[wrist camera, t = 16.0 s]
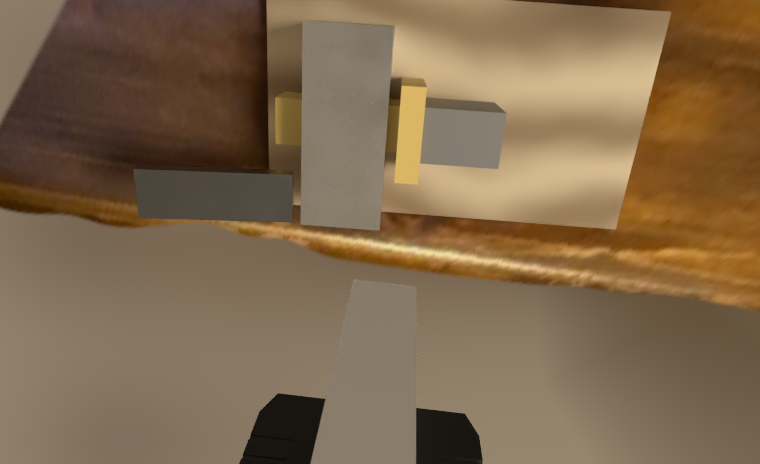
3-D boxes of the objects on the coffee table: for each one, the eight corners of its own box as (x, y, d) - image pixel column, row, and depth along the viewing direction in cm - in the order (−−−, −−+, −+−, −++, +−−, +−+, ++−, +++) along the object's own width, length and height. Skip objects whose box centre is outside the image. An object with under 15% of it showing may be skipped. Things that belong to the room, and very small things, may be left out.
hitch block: (319, 20, 34) (302, 20, 28) (395, 25, 34) (393, 27, 28) (316, 193, 39) (300, 224, 33) (382, 198, 39) (379, 230, 33)
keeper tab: (139, 164, 31) (133, 168, 30) (293, 170, 32) (292, 175, 31) (144, 212, 32) (139, 218, 31) (293, 216, 33) (292, 222, 32)
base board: (270, -16, 35) (266, -17, 34) (664, 12, 34) (671, 11, 33) (272, 198, 40) (269, 202, 39) (610, 224, 40) (615, 229, 39)
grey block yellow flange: (284, 69, 36) (267, 76, 31) (497, 83, 35) (511, 93, 31) (285, 155, 38) (269, 173, 33) (485, 169, 38) (496, 190, 33)
